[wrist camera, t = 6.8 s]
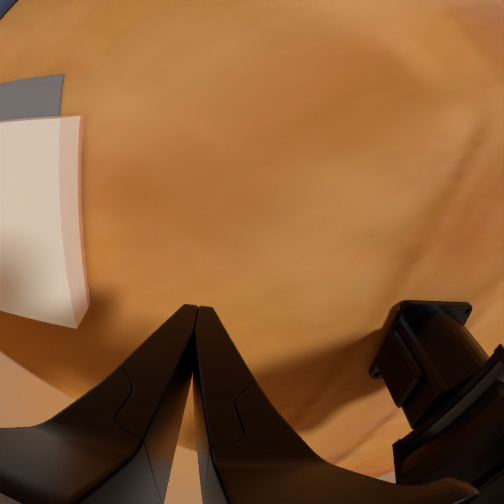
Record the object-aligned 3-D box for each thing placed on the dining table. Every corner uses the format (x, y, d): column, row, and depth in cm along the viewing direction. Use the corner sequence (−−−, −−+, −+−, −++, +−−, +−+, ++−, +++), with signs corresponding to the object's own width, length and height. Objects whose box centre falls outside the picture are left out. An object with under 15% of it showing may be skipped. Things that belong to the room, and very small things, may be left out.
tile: (60, 118, 9) (-60, 132, 8) (76, 329, 14) (-33, 300, 13) (84, 115, 11) (-35, 125, 10) (90, 304, 16) (-16, 282, 15)
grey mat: (64, 74, 11) (62, 74, 10) (75, 325, 16) (74, 327, 16) (-40, 93, 10) (-42, 93, 9) (-15, 303, 15) (-17, 304, 15)
